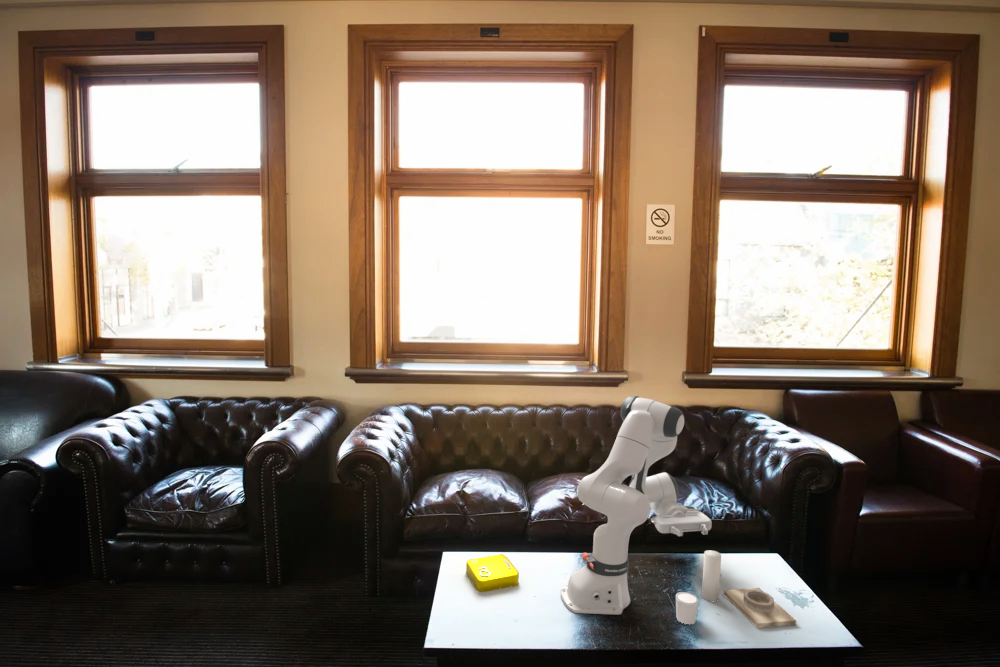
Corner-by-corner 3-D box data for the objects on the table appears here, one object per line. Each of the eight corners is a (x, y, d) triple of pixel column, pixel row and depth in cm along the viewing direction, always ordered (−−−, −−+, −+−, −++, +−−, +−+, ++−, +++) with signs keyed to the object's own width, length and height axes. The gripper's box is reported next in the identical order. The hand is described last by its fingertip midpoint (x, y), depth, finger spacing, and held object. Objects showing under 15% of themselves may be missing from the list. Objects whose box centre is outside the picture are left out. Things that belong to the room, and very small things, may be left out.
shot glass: (694, 613, 173) (695, 592, 172) (700, 627, 166) (701, 605, 165) (672, 611, 173) (673, 590, 173) (676, 625, 166) (678, 603, 166)
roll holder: (757, 628, 166) (758, 615, 166) (723, 594, 184) (724, 583, 183) (795, 624, 168) (796, 612, 168) (758, 591, 186) (759, 580, 185)
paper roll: (706, 602, 179) (709, 558, 177) (698, 593, 184) (701, 550, 182) (721, 601, 180) (724, 557, 178) (712, 592, 185) (715, 549, 183)
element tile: (520, 586, 186) (520, 572, 186) (478, 594, 181) (479, 580, 180) (503, 564, 200) (504, 551, 200) (464, 571, 194) (464, 558, 194)
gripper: (649, 509, 204) (666, 526, 191) (699, 506, 208) (720, 523, 194) (648, 526, 205) (665, 544, 191) (699, 522, 208) (719, 540, 195)
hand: (693, 533), depth 193 cm, fingers open, 8 cm apart
